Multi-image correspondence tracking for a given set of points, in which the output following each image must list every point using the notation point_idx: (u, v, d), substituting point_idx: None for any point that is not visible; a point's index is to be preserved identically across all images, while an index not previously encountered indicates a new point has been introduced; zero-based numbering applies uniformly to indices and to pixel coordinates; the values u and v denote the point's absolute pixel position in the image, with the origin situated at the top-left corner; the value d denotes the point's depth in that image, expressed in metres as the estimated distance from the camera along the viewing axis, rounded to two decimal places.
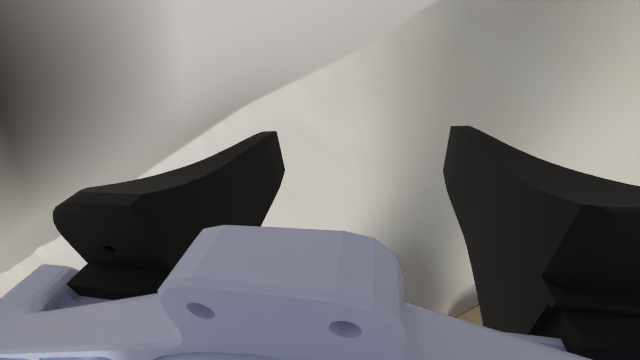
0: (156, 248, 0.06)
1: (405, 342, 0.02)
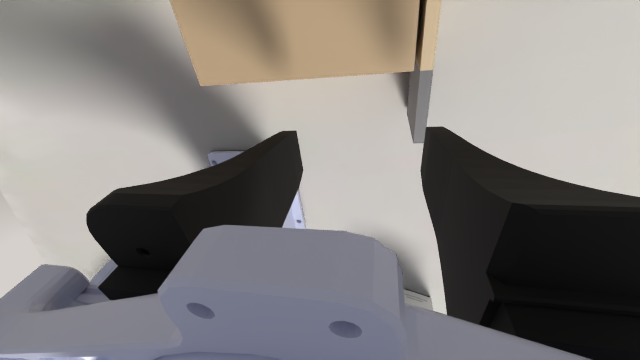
0: None
1: (405, 342, 0.02)
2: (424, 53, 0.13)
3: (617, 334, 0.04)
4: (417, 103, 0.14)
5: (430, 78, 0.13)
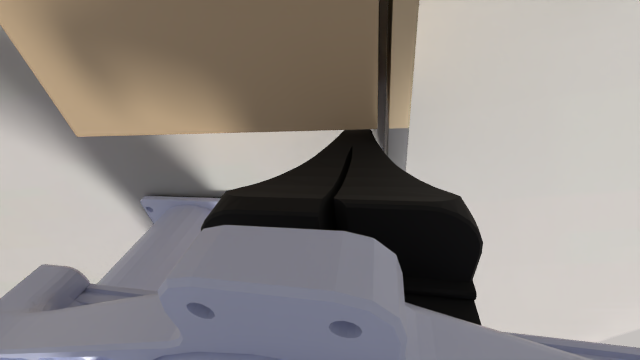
0: None
1: (405, 342, 0.02)
2: (393, 103, 0.08)
3: None
4: None
5: (405, 139, 0.09)
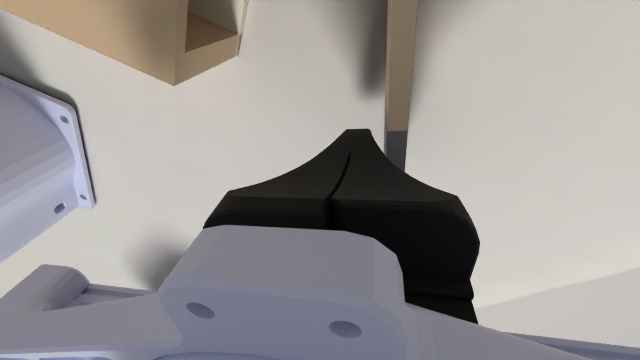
0: None
1: (405, 342, 0.02)
2: (392, 105, 0.08)
3: None
4: None
5: (404, 142, 0.09)
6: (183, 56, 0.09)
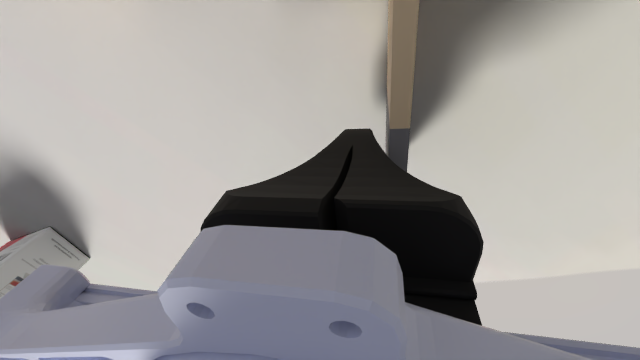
0: None
1: (405, 342, 0.02)
2: (393, 103, 0.08)
3: None
4: None
5: (406, 140, 0.08)
6: None
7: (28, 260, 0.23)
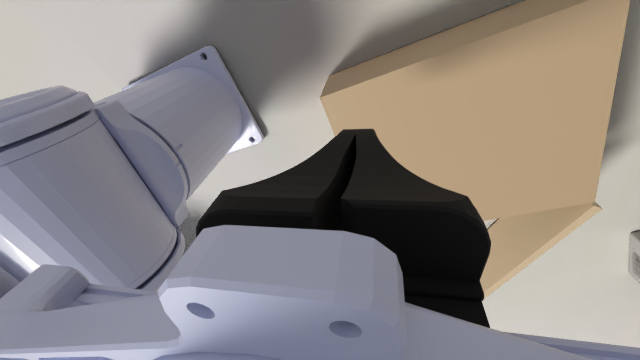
0: None
1: (405, 342, 0.02)
2: None
3: None
4: None
5: None
6: None
7: None
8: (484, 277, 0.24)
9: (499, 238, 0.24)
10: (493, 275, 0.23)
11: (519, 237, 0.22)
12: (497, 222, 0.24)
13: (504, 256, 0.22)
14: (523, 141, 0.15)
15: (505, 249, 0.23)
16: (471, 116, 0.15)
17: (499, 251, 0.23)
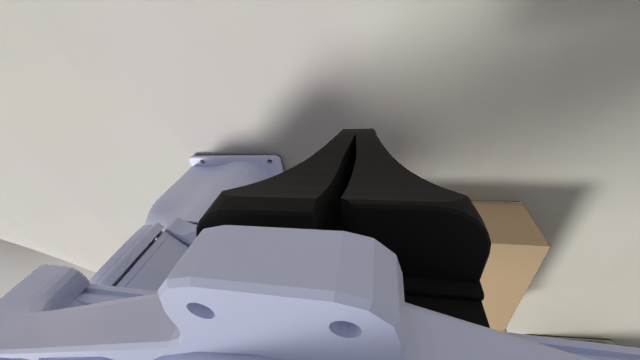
0: None
1: (405, 342, 0.02)
2: None
3: None
4: None
5: None
6: None
7: None
8: None
9: None
10: None
11: None
12: None
13: None
14: None
15: None
16: None
17: None
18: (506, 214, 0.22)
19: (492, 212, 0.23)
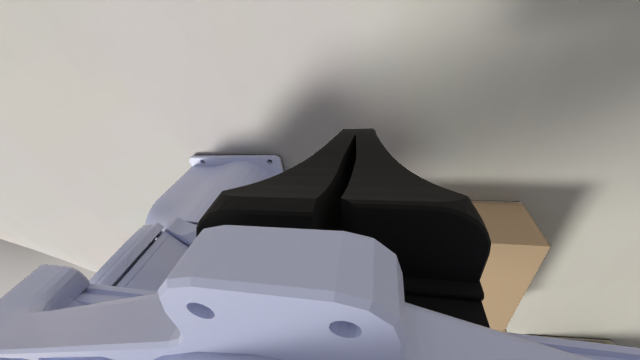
0: None
1: (405, 342, 0.02)
2: None
3: None
4: None
5: None
6: None
7: None
8: None
9: None
10: None
11: None
12: None
13: None
14: None
15: None
16: None
17: None
18: (506, 214, 0.22)
19: (492, 212, 0.23)
